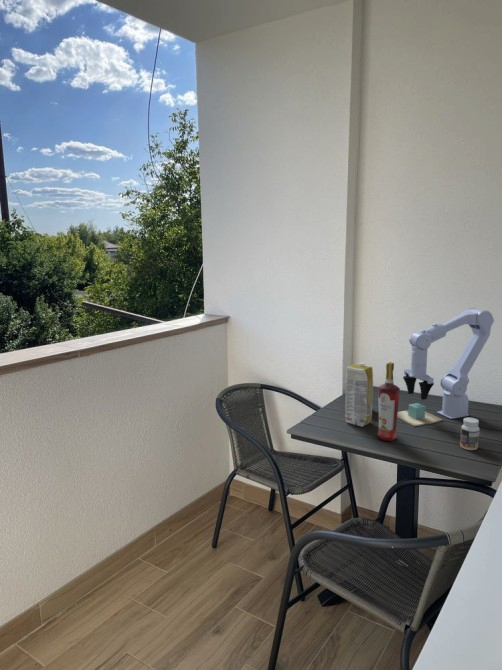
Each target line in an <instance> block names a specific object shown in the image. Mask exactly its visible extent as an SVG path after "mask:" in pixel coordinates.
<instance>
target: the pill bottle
mask: <svg viewBox="0 0 502 670" xmlns="http://www.w3.org/2000/svg"><path fill="white" fill-rule="evenodd" d="M462 421H463V424H462V425H461V426H460V428H461V429H460V438H459V439H460V441H459V446H460V447H461V448H462V449H465V450H468V451H475V450H478V448H479V441H480V430H481V429H480V427H479V423H480V421H479V419H478V418H474V417H468V416H467V417H463V420H462Z"/></svg>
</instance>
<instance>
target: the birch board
mask: <svg viewBox="0 0 502 670" xmlns="http://www.w3.org/2000/svg"><path fill="white" fill-rule="evenodd" d="M397 420H401V421H402V422H404V423H406V424H408V425H410V426H412V427H420V426H424V425H430V424H435V423H440V422H443V421H444V419H443V418H441V417H438V416H436V415H434V414H432V413H429V412H427V411H426V410H425V417H424V418H419V419H414V418H412V417H410V416H408V409H407V410H402V411H398V413H397Z"/></svg>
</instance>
